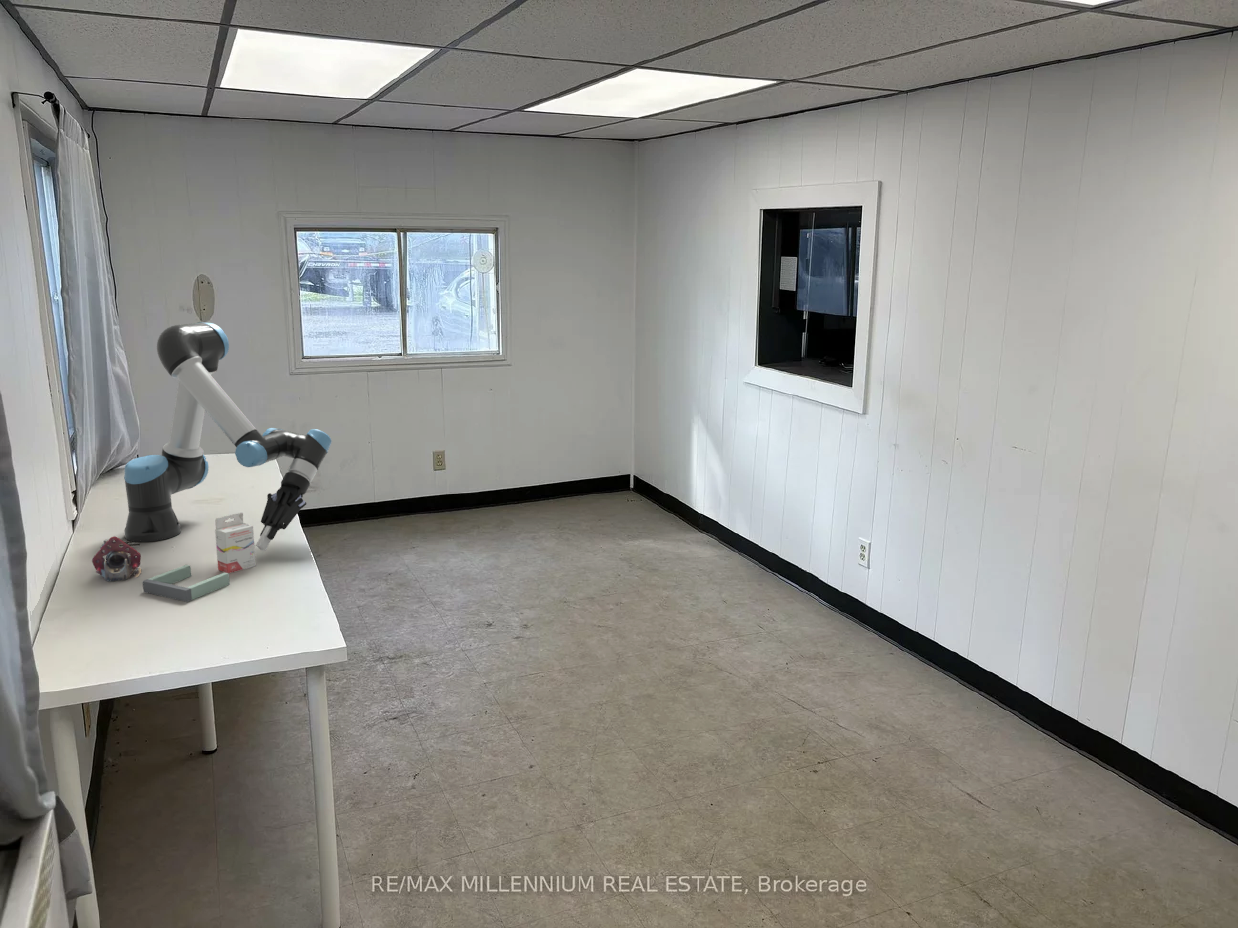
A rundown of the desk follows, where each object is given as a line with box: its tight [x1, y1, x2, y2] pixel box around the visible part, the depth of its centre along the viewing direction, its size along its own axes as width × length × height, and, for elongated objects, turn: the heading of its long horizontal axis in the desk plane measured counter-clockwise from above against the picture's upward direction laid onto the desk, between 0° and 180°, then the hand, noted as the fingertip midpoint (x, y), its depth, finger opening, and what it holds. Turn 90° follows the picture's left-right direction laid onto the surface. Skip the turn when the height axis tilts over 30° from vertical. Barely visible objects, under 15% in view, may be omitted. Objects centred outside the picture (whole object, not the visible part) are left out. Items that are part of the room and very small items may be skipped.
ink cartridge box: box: [214, 512, 256, 574], centre depth 246 cm, size 9×5×15 cm, turn 144°
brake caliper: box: [91, 535, 142, 582], centre depth 240 cm, size 11×11×12 cm
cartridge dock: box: [142, 564, 230, 603], centre depth 232 cm, size 15×14×3 cm
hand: (260, 548), depth 254 cm, fingers closed
